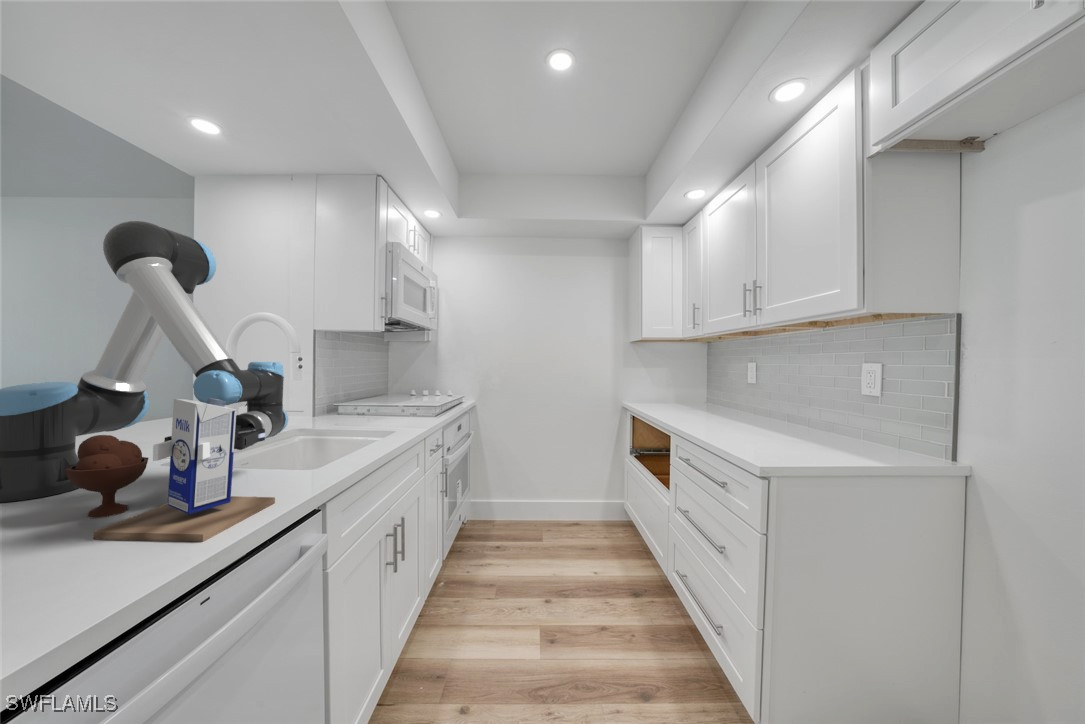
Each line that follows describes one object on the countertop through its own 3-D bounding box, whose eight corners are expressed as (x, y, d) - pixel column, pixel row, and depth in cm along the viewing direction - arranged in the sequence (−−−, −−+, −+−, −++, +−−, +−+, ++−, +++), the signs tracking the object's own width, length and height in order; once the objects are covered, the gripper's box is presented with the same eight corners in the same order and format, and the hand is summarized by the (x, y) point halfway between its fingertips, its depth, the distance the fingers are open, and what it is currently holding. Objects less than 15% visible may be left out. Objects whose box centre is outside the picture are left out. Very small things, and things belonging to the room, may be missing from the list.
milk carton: (166, 505, 74) (173, 397, 73) (209, 494, 80) (215, 394, 79) (189, 514, 71) (196, 402, 70) (231, 502, 77) (237, 399, 76)
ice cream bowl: (94, 526, 71) (96, 441, 71) (48, 519, 73) (50, 437, 73) (162, 505, 81) (164, 431, 81) (120, 500, 84) (121, 428, 84)
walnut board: (93, 539, 66) (93, 531, 66) (188, 501, 84) (188, 495, 84) (203, 541, 66) (203, 534, 66) (274, 503, 84) (275, 497, 84)
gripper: (290, 445, 95) (239, 472, 72) (197, 446, 91) (112, 475, 68) (291, 413, 95) (240, 430, 72) (198, 413, 91) (113, 431, 68)
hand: (178, 452), depth 70 cm, fingers closed on milk carton, 6 cm apart
